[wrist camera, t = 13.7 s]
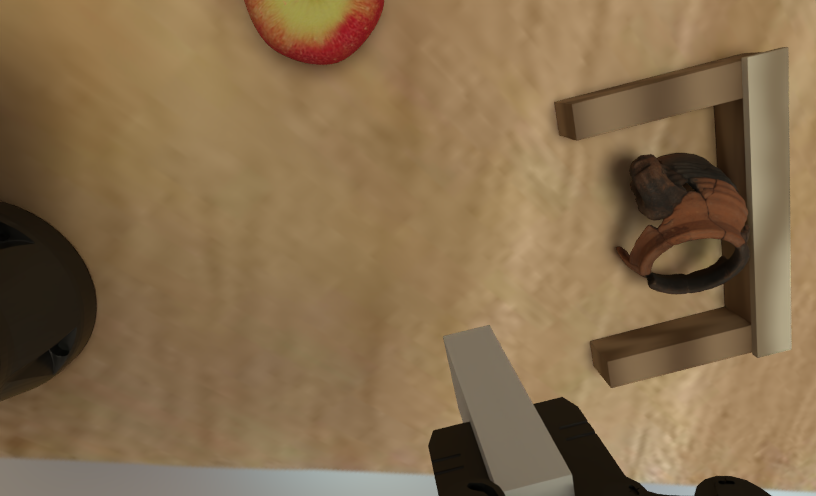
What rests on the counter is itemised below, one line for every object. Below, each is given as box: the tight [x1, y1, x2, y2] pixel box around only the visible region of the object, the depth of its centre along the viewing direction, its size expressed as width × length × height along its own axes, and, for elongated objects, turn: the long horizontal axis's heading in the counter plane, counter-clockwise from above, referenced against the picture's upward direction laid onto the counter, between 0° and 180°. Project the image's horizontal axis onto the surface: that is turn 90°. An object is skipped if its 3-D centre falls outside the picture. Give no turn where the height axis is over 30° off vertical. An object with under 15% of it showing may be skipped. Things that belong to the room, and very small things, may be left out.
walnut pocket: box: [555, 47, 791, 388], centre depth 41 cm, size 15×23×4 cm, turn 14°
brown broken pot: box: [616, 153, 750, 294], centre depth 40 cm, size 12×10×8 cm
